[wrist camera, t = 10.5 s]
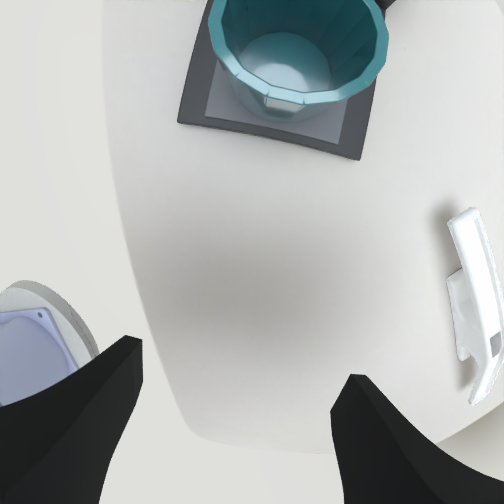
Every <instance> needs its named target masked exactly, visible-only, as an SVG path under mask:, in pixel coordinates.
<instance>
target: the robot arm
mask: <svg viewBox="0 0 504 504" xmlns="http://www.w3.org/2000/svg"><path fill="white" fill-rule="evenodd" d="M142 383H143V362H142V339H139V338H135V337H131V336H127V335H125V336H123V337H122V338H121V339H119V340H118V341H117V342H115V343H114V344H113V345H111V346H110V347H109V348H107V349H106V350H105V351H103V352H102V353H101V354H99V355H98V356H97V357H95V358H94V359H92V360H91V361H90V362H88V363H87V364H85V365H84V366H83V367H81V368H80V369H79V367H78V365H77V364H76V362H75V360H74V358H73V356H72V355H71V353H70V351H69V349H68V347H67V345H66V343H65V342H64V340H63V338H62V336H61V334H60V332H59V330H58V328H57V326H56V324H55V322H54V319H53V317H52V315H51V313H50V311H49V310H48V309H47V308H46V307H40V308H31V309H23V310H14V311H6V312H0V504H99V500H100V496H101V492H102V488H103V484H104V481H105V477H106V474H107V470H108V467H109V463H110V461H111V458H112V455H113V453H114V451H115V448H116V446H117V444H118V442H119V440H120V438H121V435H122V433H123V431H124V429H125V427H126V424H127V422H128V420H129V418H130V416H131V414H132V412H133V409H134V407H135V405H136V402H137V399H138V396H139V392H140V390H141V386H142ZM330 414H331V429H332V437H333V442H334V447H335V452H336V456H337V461H338V466H339V470H340V475H341V480H342V485H343V492H344V504H504V481H500V480H498V479H495V478H492V477H489V476H487V475H484V474H482V473H480V472H478V471H476V470H474V469H472V468H470V467H468V466H466V465H464V464H462V463H461V462H459V461H458V460H456V459H454V458H453V457H451V456H450V455H448V454H447V453H445V452H444V451H443V450H441V449H440V448H438V447H437V446H436V445H435V444H434V443H432V442H431V441H430V440H429V439H427V438H426V437H425V436H424V435H423V434H422V433H421V432H420V431H418V430H417V429H416V428H415V427H414V426H413V425H412V424H411V423H410V422H409V421H408V420H407V419H406V418H405V417H404V416H403V415H402V414H401V413H400V412H399V411H398V409H397V408H396V407H395V406H394V405H393V404H392V403H391V402H390V401H389V400H388V399H387V397H386V396H385V395H384V394H383V393H382V392H381V391H380V390H379V389H378V388H377V386H376V385H375V384H374V383H373V382H372V381H371V380H370V379H369V378H368V377H367V376H366V375H358V374H350V376H349V378H348V380H347V382H346V384H345V385H344V387H343V389H342V391H341V393H340V395H339V396H338V398H337V400H336V402H335V404H334V405H333V407H332V409H331V411H330Z"/></svg>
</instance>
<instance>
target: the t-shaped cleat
mask: <svg viewBox="0 0 504 504" xmlns="http://www.w3.org/2000/svg"><path fill="white" fill-rule="evenodd" d="M447 225H448V227H449V230H450V233H451V235H452V238H453V241H454V244H455V247H456V249H457V252H458V255H459V258H460V262H461V265H462V268H461V269H460V270H458V271H457V272H455V273H454V274H452V275H451V276H449V277H448V278H447V279H446V281H447V286H448V292H449V297H450V303H451V309H452V315H453V322H454V330H455V338H456V347H457V356H458V358H459V359H460V360H461V361H464V360H466V359H467V358H468V357H470V356H471V355H472V356H473V358H474V359H475V361H476V363H477V364H478V366H479V371H478V374H477V377H476V380H475V383H474V386H473V389H472V392H471V394H470V397H469V400H468V402H469V404H470V406H473V405H475V404H476V403H478V402H479V401H481V400H482V399H483V398H485V397H486V396H488V394H489V392H490V390H491V388H492V386H493V384H494V382H495V380H496V378H497V375H498V373H499V371H500V369H501V366H502V364H503V362H504V301H503V296H502V291H501V286H500V281H499V277H498V273H497V269H496V265H495V261H494V257H493V254H492V250H491V247H490V243H489V240H488V237H487V234H486V231H485V228H484V225H483V222H482V219H481V216H480V213H479V210H478V208H477V207H470V208H468V209H466V210H465V211H463V212H462V213H460V214H458V215H457V216H455V217H454V218H452V219H450V220H449V221H448V222H447Z"/></svg>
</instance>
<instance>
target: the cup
mask: <svg viewBox="0 0 504 504" xmlns="http://www.w3.org/2000/svg"><path fill="white" fill-rule="evenodd" d="M208 27H209V32H210V36H211V41H212V46H213V50H214V52H215V55H216V57H217V59H218V61H219V63H220V65H221V67H222V69H223V72H224V74H225V76H226V78H227V80H228V82H229V85H230V87H231V89H232V91H233V93H234V94H235V95H236V97H237V98H238V100H239V101H240V102H241V104H242V105H243V106H244V107H245V108H246V109H247V110H249V111H250V112H251V113H253V114H254V115H256V116H258V117H260V118H262V119H265V120H268V121H271V122H277V123H294V122H299V121H305V120H307V119H309V118H311V117H313V116H314V115H316V114H318V113H320V112H322V111H324V110H326V109H328V108H330V107H331V106H333V105H335V104H337V103H339V102H341V101H343V100H345V99H347V98H349V97H350V96H352V95H354V94H356V93H358V92H360V91H362V90H364V89H366V88H367V87H368V86H370V84H371V83H372V81H373V80H374V79H375V77H376V76H377V75H378V73H379V72H380V70H381V69H382V68H383V66H384V65H385V62H386V56H387V48H388V40H389V34H388V31H387V28H386V24H385V21H384V18H383V15H382V13H381V10H380V8H379V6H378V5H377V4H376V3H375V1H374V0H214V2H213V5H212V9H211V12H210V15H209V18H208Z"/></svg>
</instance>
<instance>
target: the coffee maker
mask: <svg viewBox="0 0 504 504" xmlns="http://www.w3.org/2000/svg"><path fill="white" fill-rule="evenodd" d="M374 1H375V3H376V4H377V5H378V6H379V8H380V10H381V13H382V15H383V18H384V21H385V12H386V9H387V8H388V7H389V6H390V5H391V4H392V3H393V2H395V1H396V0H374ZM213 2H214V0H208V1H207V4H206V7H205V10H204V14H203V17H202V20H201V24H200V27H199V31H198V34H197V38H196V41H195V45H194V49H193V53H192V56H191V60H190V64H189V68H188V72H187V77H186V81H185V85H184V90H183V94H182V99H181V103H180V108H179V113H178V118H177V122H178V123H181V124H189V125H196V126H203V127H209V128H216V129H222V130H228V131H234V132H239V133H245V134H250V135H255V136H260V137H265V138H270V139H274V140H279V141H283V142H288V143H292V144H296V145H300V146H305V147H309V148H313V149H316V150H320V151H324V152H328V153H331V154H335V155H339V156H342V157H346V158H349V159H353V160H358V161H359V160H360V158H361V154H362V150H363V145H364V141H365V136H366V131H367V127H368V122H369V117H370V112H371V106H372V101H373V96H374V90H375V84H376V78H377V76H376V77H375V79H374V80H373V81H372V83H371V84H370V86H368V87H367V88H366V89H364V90H362V91H360V92H358V93H356V94H354V95H352V96H350V97H349V98H347V99H345V100H343V101H341V102H339V103H337V104H335V105H333V106H331V107H330V108H328V109H326V110H324V111H322V112H320V113H318V114H316V115H314V116H313V117H311V118H309V119H307V120H305V121H299V122H294V123H277V122H271V121H268V120H265V119H262V118H260V117H258V116H256V115H254V114H253V113H251V112H250V111H249V110H247V109H246V108H245V107H244V106H243V105H242V104H241V102H240V101H239V100H238V98H237V97H236V95H235V94H234V93H233V91H232V89H231V87H230V85H229V82H228V80H227V78H226V76H225V74H224V72H223V69H222V67H221V65H220V63H219V61H218V59H217V57H216V55H215V52H214V50H213V46H212V41H211V36H210V32H209V27H208V18H209V15H210V12H211V9H212V5H213Z"/></svg>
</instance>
